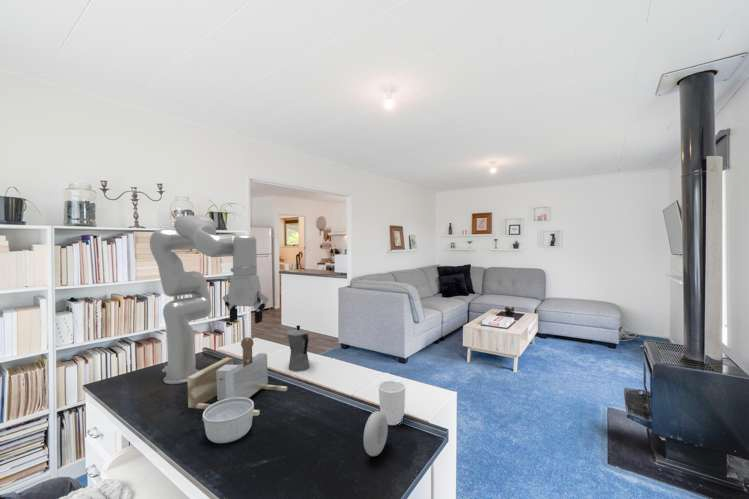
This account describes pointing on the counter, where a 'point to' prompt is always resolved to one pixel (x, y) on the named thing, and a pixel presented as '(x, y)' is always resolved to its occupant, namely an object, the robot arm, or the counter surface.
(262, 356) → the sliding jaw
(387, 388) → the white cup
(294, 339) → the coffeepot
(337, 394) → the counter surface
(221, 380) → the small box
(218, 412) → the ramekin
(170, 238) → the robot arm
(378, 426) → the light grey round disc
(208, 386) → the frame
